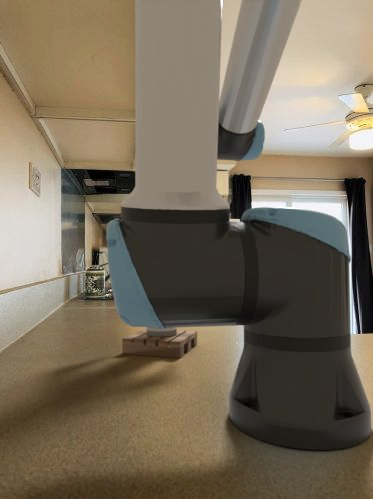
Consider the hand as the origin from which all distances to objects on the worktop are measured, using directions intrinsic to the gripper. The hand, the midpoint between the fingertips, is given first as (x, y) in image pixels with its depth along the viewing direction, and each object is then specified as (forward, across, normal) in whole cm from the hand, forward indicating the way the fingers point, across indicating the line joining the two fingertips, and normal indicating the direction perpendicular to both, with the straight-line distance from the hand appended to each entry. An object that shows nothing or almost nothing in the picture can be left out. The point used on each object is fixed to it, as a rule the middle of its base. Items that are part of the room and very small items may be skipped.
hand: (161, 299), depth 76 cm
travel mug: (+7, 0, 0) cm, 7 cm away
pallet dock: (+10, 0, 0) cm, 10 cm away
